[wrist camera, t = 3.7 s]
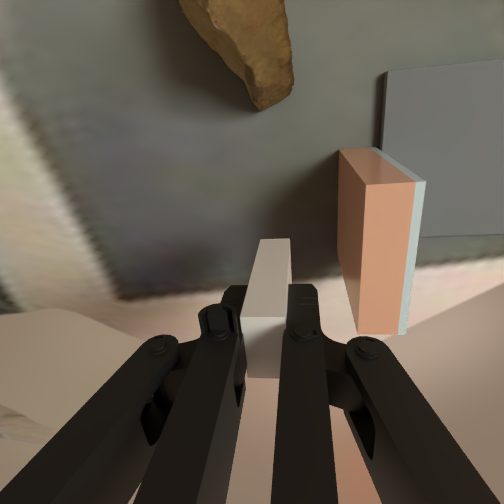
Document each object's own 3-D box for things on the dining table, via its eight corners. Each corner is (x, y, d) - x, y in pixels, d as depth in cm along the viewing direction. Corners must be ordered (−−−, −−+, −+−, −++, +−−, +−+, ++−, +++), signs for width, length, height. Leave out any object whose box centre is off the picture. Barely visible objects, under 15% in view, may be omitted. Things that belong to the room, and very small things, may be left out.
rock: (337, 113, 20) (356, -129, 14) (235, 148, 15) (206, -202, 9) (219, 101, 26) (201, -69, 21) (121, 122, 21) (64, -94, 16)
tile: (336, 252, 26) (357, 334, 17) (339, 149, 23) (365, 185, 14) (368, 251, 26) (405, 334, 17) (374, 146, 23) (426, 181, 14)
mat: (373, 234, 25) (375, 238, 24) (384, 72, 21) (388, 71, 20) (517, 228, 24) (524, 233, 23) (565, 52, 19) (575, 51, 18)
